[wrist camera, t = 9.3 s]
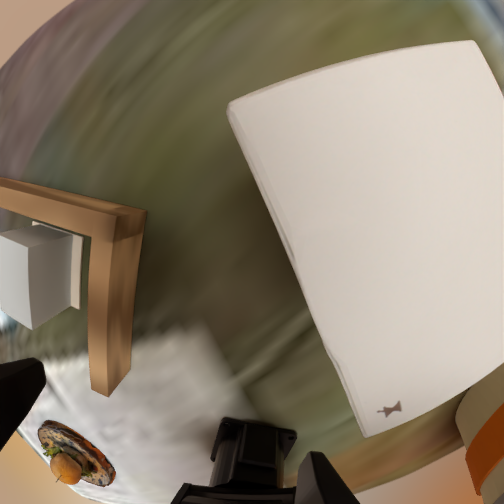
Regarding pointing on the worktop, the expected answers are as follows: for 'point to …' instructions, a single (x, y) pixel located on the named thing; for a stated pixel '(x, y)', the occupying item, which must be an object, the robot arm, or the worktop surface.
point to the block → (35, 273)
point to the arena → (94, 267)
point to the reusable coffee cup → (485, 435)
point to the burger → (74, 456)
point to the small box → (390, 217)
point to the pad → (74, 267)
